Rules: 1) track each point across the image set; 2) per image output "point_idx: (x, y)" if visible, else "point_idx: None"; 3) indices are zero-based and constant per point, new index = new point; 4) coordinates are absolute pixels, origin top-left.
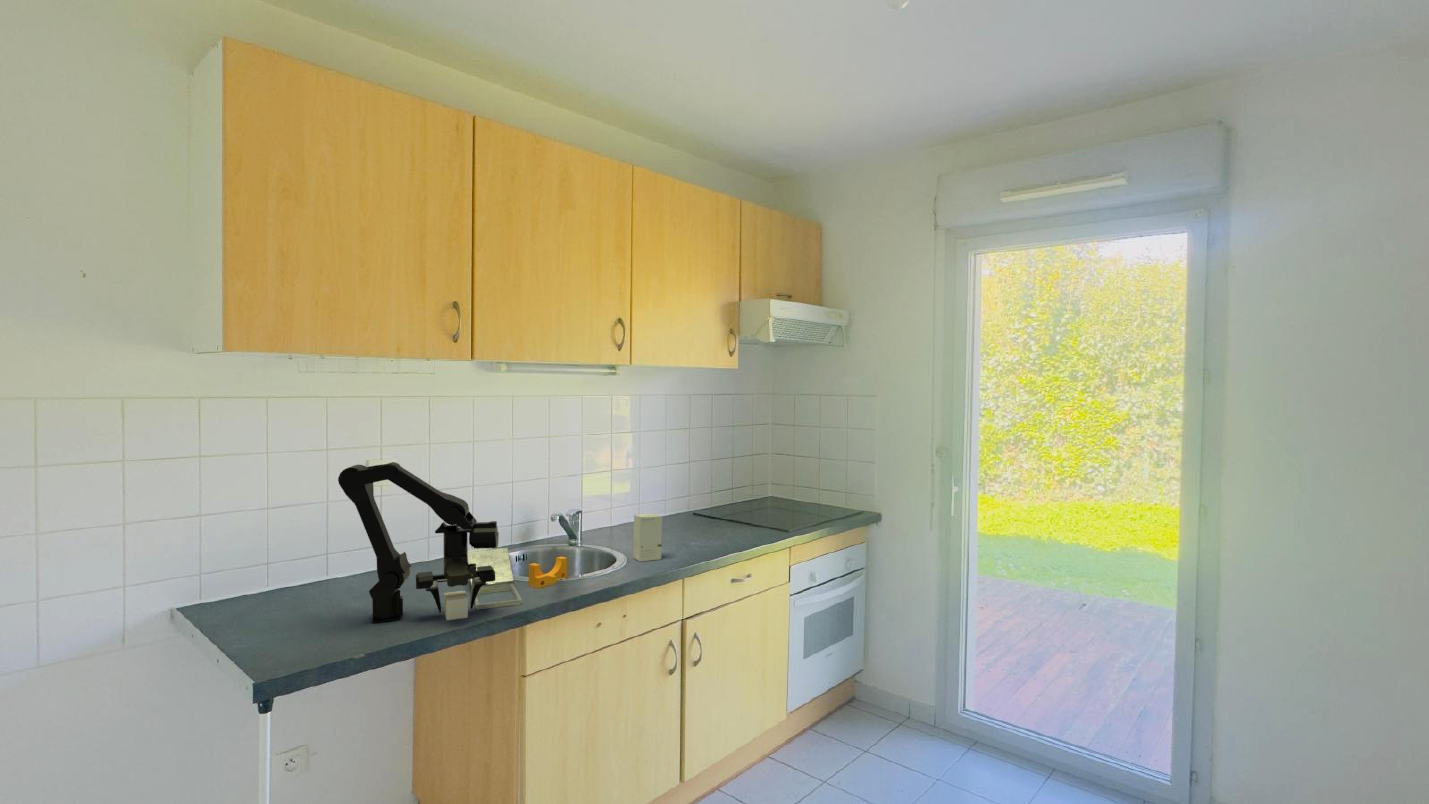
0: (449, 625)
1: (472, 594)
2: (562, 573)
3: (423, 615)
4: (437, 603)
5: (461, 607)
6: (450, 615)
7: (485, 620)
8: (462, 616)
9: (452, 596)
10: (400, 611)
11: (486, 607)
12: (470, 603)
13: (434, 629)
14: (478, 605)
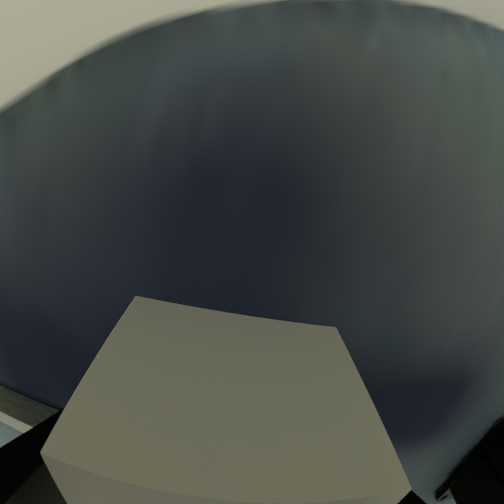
0: (365, 158)
1: (8, 494)
2: None
3: None
4: (408, 495)
5: (173, 382)
6: (309, 346)
7: (20, 121)
8: (181, 315)
9: None
10: (491, 466)
11: (8, 394)
12: None
13: (485, 144)
14: None
